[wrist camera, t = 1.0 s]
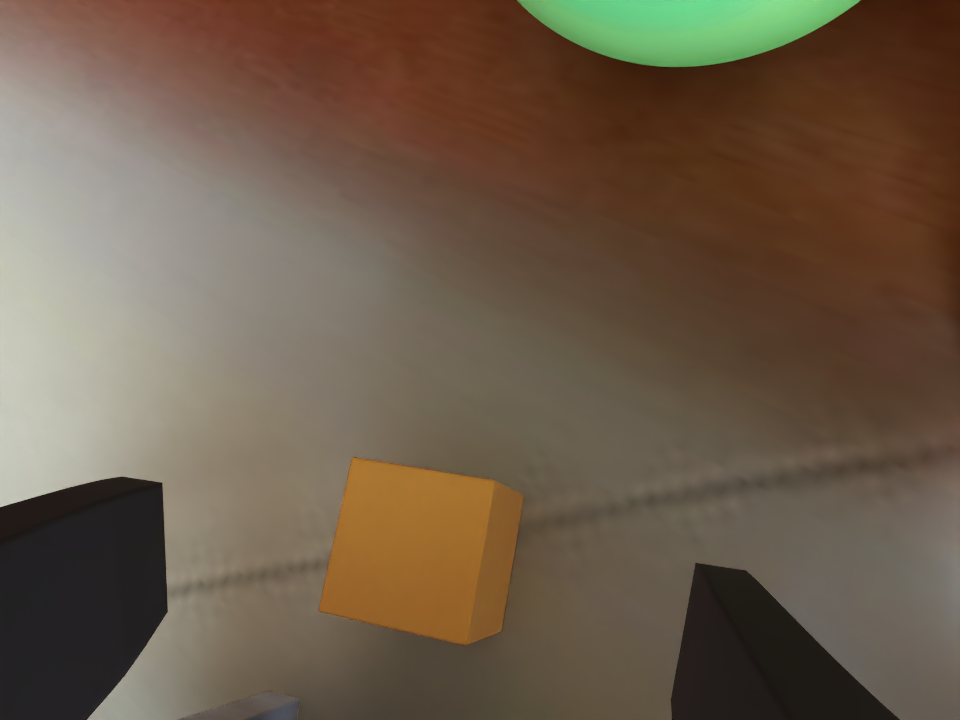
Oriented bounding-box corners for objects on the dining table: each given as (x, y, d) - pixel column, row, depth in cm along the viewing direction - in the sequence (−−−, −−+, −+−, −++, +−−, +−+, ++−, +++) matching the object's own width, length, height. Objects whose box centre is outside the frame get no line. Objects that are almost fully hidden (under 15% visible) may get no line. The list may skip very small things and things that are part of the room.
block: (501, 632, 23) (466, 646, 19) (375, 604, 25) (317, 612, 21) (524, 494, 24) (495, 480, 20) (402, 473, 26) (350, 456, 22)
